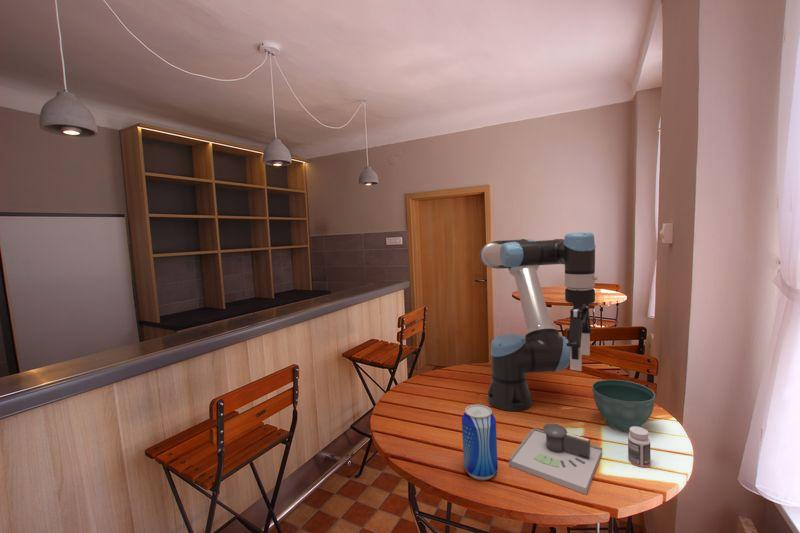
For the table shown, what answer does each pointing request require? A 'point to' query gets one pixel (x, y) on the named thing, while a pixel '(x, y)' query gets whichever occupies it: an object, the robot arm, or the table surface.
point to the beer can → (479, 442)
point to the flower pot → (623, 403)
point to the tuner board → (564, 476)
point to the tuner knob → (565, 440)
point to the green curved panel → (555, 460)
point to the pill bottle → (639, 447)
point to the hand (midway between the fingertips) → (580, 361)
